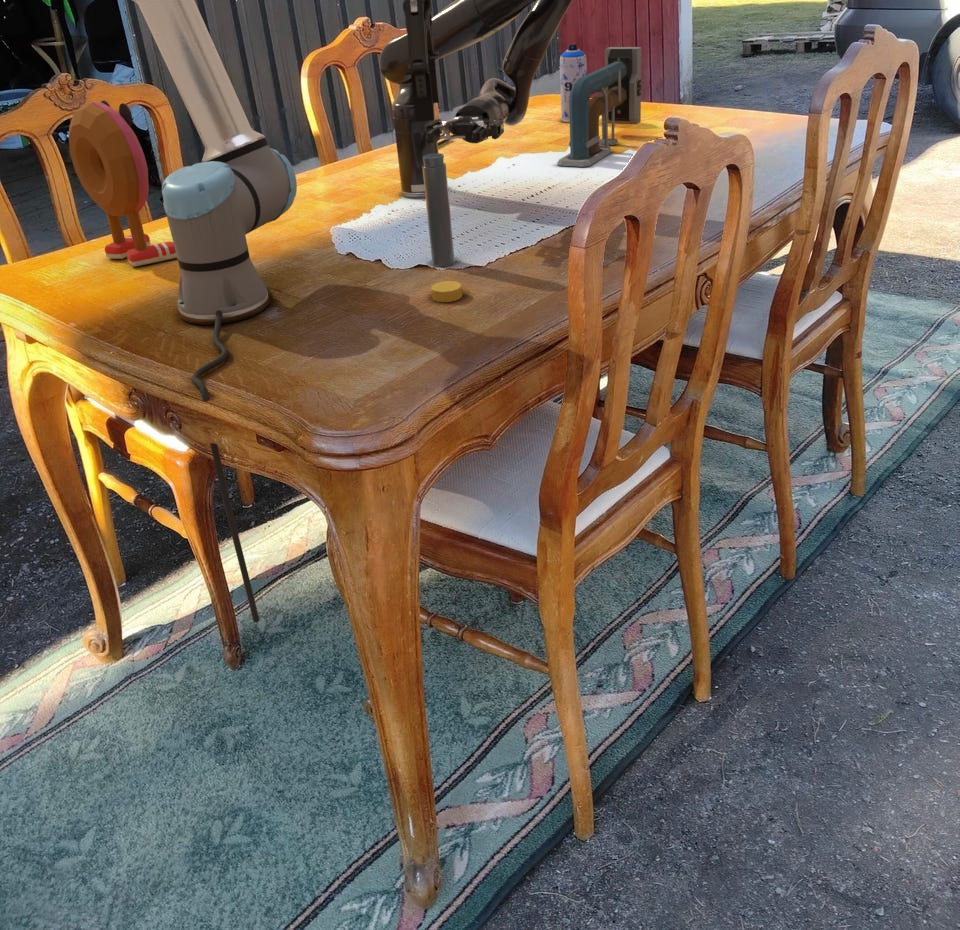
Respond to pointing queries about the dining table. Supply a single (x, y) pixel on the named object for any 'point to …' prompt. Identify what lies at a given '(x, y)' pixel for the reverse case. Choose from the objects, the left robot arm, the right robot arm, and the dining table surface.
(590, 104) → the clamp
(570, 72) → the aerosol can
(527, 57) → the right robot arm
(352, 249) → the dining table surface
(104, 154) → the toy
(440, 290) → the lid
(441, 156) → the tube
